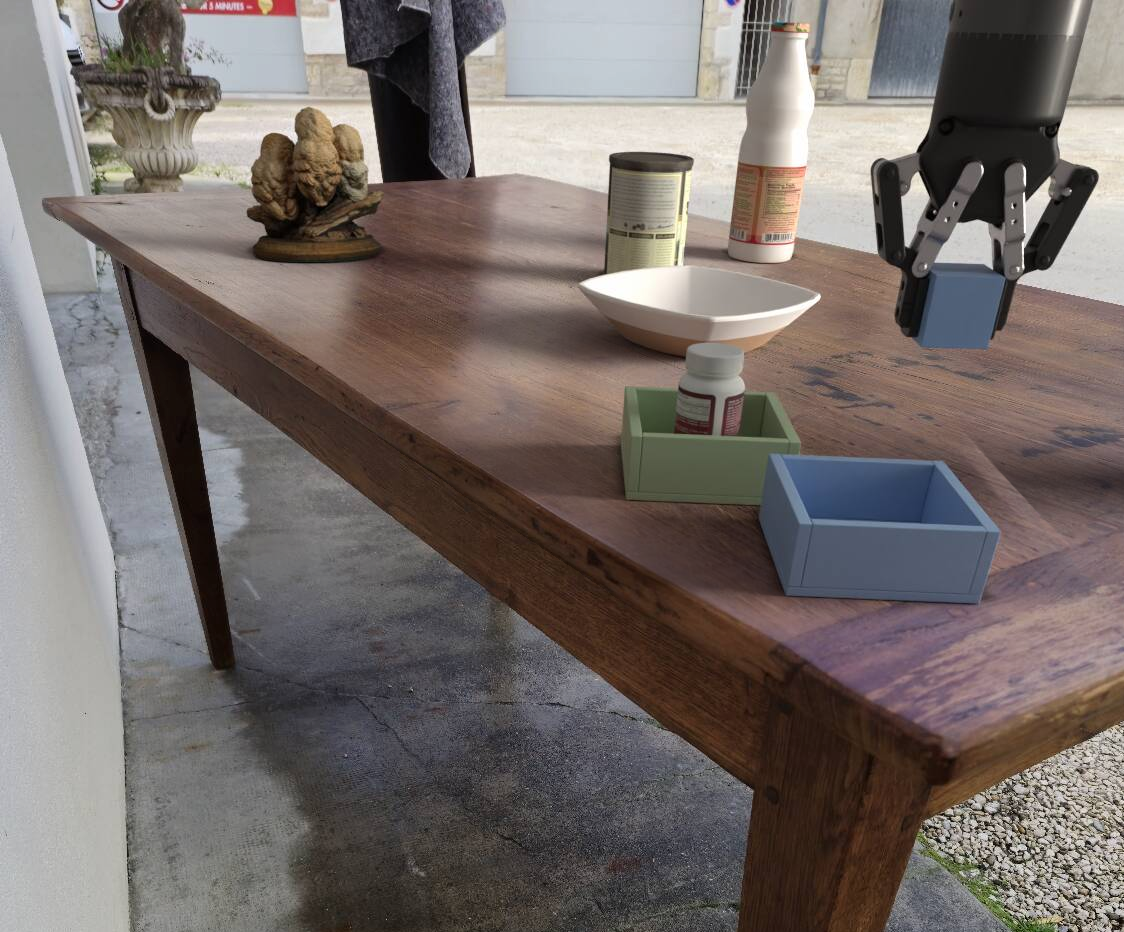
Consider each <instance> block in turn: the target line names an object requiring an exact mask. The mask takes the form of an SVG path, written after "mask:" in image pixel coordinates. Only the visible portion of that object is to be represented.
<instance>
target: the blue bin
mask: <svg viewBox="0 0 1124 932" xmlns="http://www.w3.org/2000/svg"><path fill="white" fill-rule="evenodd" d="M759 506H760V508H759V512H758V513H759V514H758V521H759V524H760V526H761V530H762V532H763V535H764V538H765V541H766V543H767V546H768V549H769V552H770V555H771V557H772V561H773V563H774V566H775V569H776V572H777V575H778V577H779V581H780V583H781V587H782V589H783V591H784V594H785V596H786V597H805V598H806V597H808V598H829V599H831V598H832V599H836V598H837V599H858V600H881V601H884V600H885V601H904V602H926V603H927V602H928V603H929V602H930V603H954V604H975V605H976V604H977V605H979V604H980V602H981V601H982V600H981V599H982V596H983V593H984V590H985V587H986V583H987V580H988V577H989V573H990V570H991V567H992V563H993V560H994V556H995V553H996V549H997V547H998V543H999V540H1000V537H1001V533H1002V531H1001V530H1000V529H999V528H998V526H997V525H996V524H995V523H994V522H993V520H992V519H991V518H990V517H989V515H988V514H987V513H986V511H984V509H983V508H982V507H981V506H980V504H979V503H978V502H977V500H976V499H975V498H974V497H973V496H972V494H971V493H970V492H969V491H968V490H967V489H966V487H965V486H964V485H963V484H962V482H961V480H959V478H958V477H957V476H956V475H955V474H954V473H953V471H952V470H951V469H950V468H949V466H948V465H947V463H945V461H943V460H930V459H929V460H928V459H927V460H925V459H905V458H882V457H881V458H879V457H859V456H858V457H856V456H855V457H854V456H833V455H831V456H830V455H812V454H811V455H809V454H808V455H807V454H799V455H789V454H781V455H780V454H769V455H768V462H767V468H766V474H765V481H764V487H763V494H762V500H761V505H759Z"/></svg>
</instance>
